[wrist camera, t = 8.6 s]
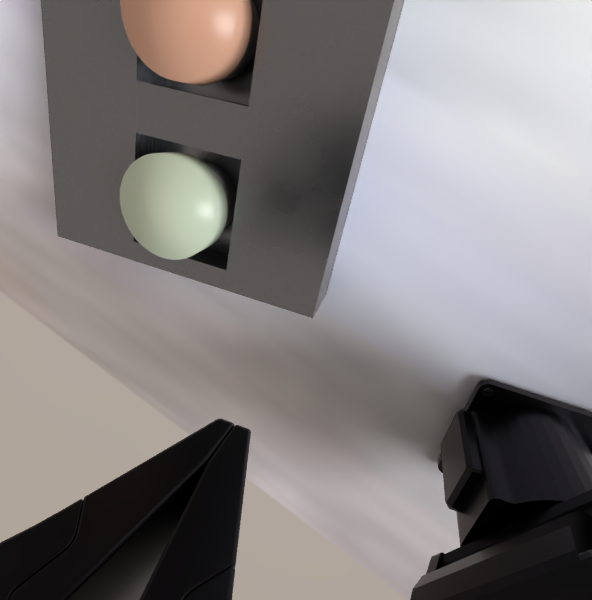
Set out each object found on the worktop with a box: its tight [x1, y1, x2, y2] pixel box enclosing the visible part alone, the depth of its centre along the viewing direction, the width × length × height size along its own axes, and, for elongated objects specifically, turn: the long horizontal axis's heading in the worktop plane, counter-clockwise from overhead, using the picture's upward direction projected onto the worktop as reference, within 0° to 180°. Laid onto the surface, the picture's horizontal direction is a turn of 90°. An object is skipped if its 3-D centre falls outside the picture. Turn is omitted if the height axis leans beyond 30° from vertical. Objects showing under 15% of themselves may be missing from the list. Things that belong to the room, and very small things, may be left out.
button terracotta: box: [120, 0, 259, 86], centre depth 14 cm, size 4×4×3 cm
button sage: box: [120, 152, 236, 260], centre depth 18 cm, size 4×4×3 cm
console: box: [41, 0, 404, 318], centre depth 16 cm, size 14×21×3 cm, turn 168°
